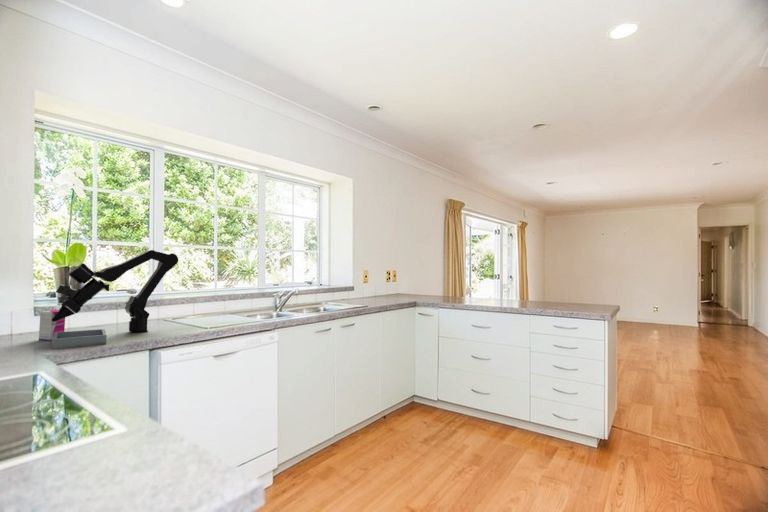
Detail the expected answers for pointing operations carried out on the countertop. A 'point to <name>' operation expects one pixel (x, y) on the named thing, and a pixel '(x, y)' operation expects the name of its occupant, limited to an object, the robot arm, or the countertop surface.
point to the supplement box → (50, 325)
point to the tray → (78, 338)
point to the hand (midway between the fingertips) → (52, 319)
